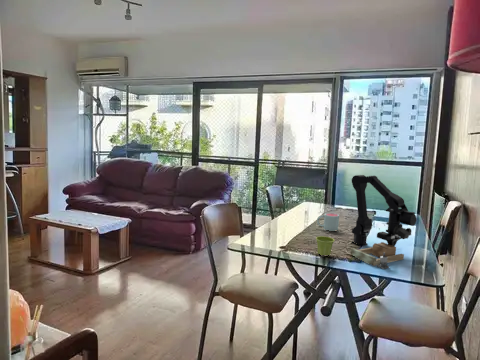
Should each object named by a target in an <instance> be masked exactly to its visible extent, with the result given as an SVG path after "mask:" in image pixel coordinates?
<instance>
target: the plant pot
mask: <svg viewBox="0 0 480 360" xmlns="http://www.w3.org/2000/svg"><path fill="white" fill-rule="evenodd" d="M315 240H316V244H317V255H318V254H320V255H330V256H331V254H332V253H331V252H332V247H333V244H334V242H335V239H334V238H333V237H330V236H323V235H319V236H316V237H315Z"/></svg>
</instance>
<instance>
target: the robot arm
mask: <svg viewBox="0 0 480 360" xmlns="http://www.w3.org/2000/svg"><path fill="white" fill-rule="evenodd" d="M351 183H352V187H353V189H354V191H355V194H356V207H357V219H356V223H355V226H354V227H353V228H352V229H351V233H352V234H353V241H354V242H355V243H357V244H359V245H362V246H366V245H367V246H368V243H367V237H368V236H367V234H369V233H370V231H371V230H372V228H373V226H374V225H373V219H372V218H369V216H368V208H367V207H368V206H367V197H366V196H367V195H366V189H367V186H368V184H370V186H372V187H373V188H374V189H375V190H376V191H377V192H378V193H379V194H380V195H381V196H382V197H383V198H384V200H385V203H386V204H387V206H388V208H387V209H385V212H388V213H389V214H388V221H387V222H386V225H387V229H385V231H379V232H377V233H376V238H377V239H380V240H384V241H386V242H387V243H386V244H389V245H392V246H395V247H396V245H397V243H398V241H400V240H405V239H407V240H408V239H409V237H410V236H412V228H411V227H414V226H415V225H416V224H417V220H418V219H417V216H416V215H417V214H416V213H415V211H409V210H408V208H407V206H406V204H405V199H404V198H402V197H401V196H399V195H398V194H396V193H394V192H392V191H391V190H390V189H389V188H388V187H387V186H386V185H385V184H384V183H383V182H382V181H381V179H379V178H378V176H376V175H368V176H366V175H365V174H356V175H353V176H352V178H351ZM403 225H408V226H411V227H407V228H404V227H403ZM359 245H358V246H359Z"/></svg>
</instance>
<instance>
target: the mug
mask: <svg viewBox="0 0 480 360" xmlns="http://www.w3.org/2000/svg"><path fill="white" fill-rule="evenodd" d="M322 218H323V224H321V223H320V219H322ZM339 221H340V214H338V213H333V212H325V213H324V214H323V215H319V216H318V218H317V219H316V223H317V225H318V226H319V227H323V230H324V229H325V230H329V231H335V230H338V231H339ZM325 230H324V231H325ZM329 231H328V232H329Z"/></svg>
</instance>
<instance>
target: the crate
mask: <svg viewBox="0 0 480 360" xmlns="http://www.w3.org/2000/svg"><path fill="white" fill-rule="evenodd" d="M372 247H373V249H372V253H371V256H373V257H376V258H378V259H379V258H380V256H383V253H385V256H387V257H388V256H393V255H397V252H396V251H397V246H396V245H395V246H392V245H389V244H388V243H386V242H384V241H381V242H379V243H377V242H375V243H374V242H373V244H372Z"/></svg>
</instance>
